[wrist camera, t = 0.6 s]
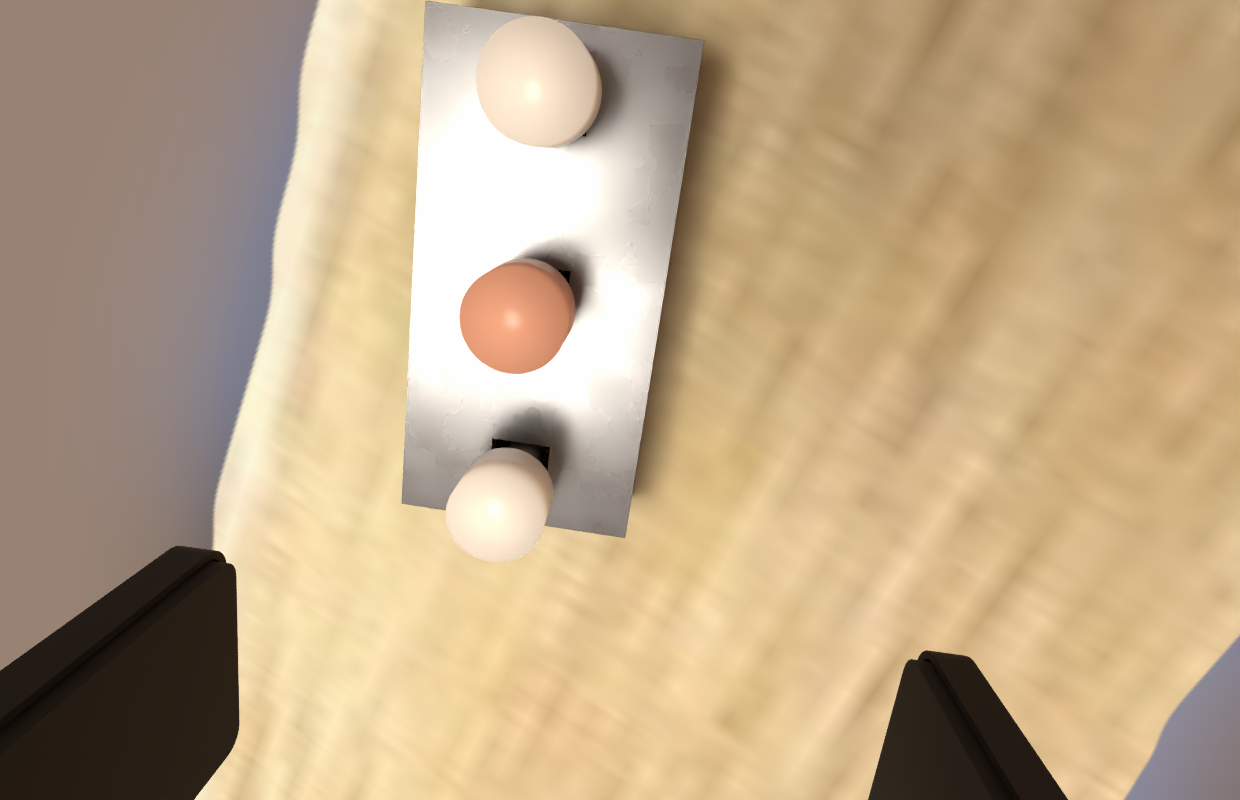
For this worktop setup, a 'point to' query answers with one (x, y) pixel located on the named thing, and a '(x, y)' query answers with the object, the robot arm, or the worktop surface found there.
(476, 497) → the far knob
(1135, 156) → the worktop surface
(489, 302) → the middle knob
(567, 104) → the near knob
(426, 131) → the knob panel
